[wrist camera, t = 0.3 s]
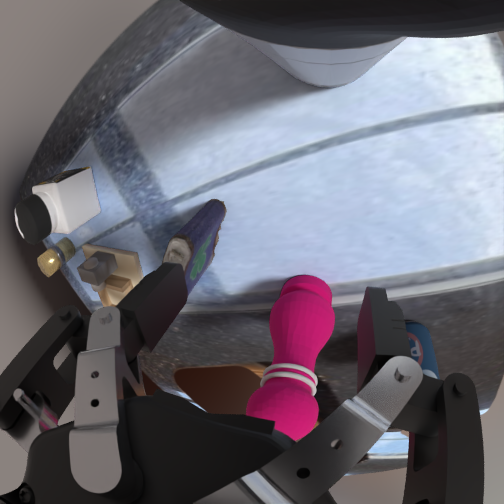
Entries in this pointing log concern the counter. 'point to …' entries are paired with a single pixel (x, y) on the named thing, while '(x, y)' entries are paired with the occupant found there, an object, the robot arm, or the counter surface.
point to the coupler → (56, 256)
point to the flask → (197, 242)
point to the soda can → (422, 348)
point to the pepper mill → (295, 356)
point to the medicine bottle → (58, 205)
